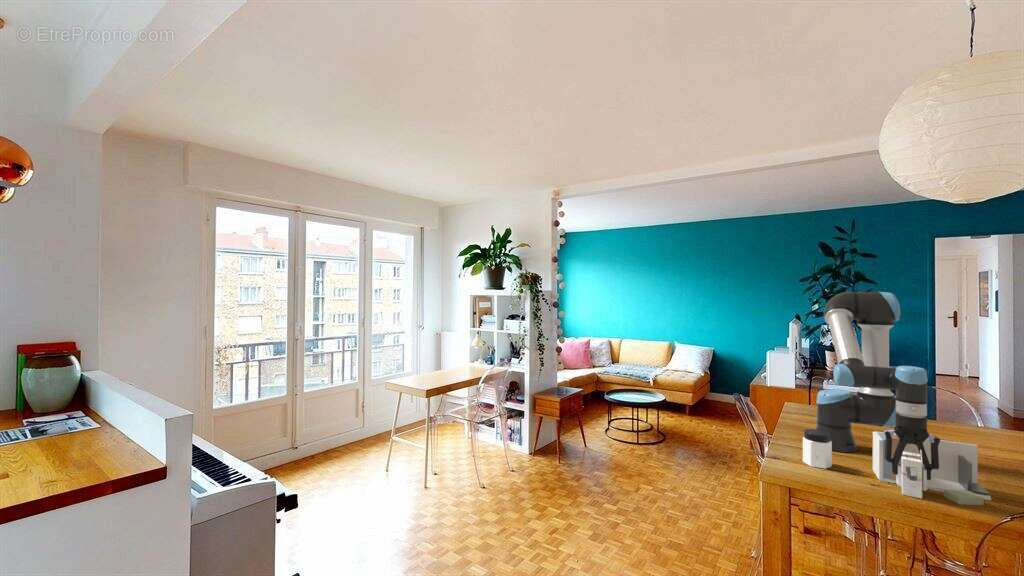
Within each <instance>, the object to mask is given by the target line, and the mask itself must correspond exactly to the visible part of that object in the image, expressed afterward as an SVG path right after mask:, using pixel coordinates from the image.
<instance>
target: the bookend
mask: <svg viewBox="0 0 1024 576" xmlns="http://www.w3.org/2000/svg"><path fill="white" fill-rule="evenodd" d="M958 482H959V483H960V484H961V485H962V486H963V487H964V488H965V489H966V490H967V491H970V492H974V493H980V494H985V495H989V496H991V493H990V492H989V491H988V490H986V489H985V488H984V487H983V486H982V485H981V484H980V483H978V484H977V483H972V463H970V462H969V461H968V460H967V459H966V458H965V457H963V456H961V455H958Z"/></svg>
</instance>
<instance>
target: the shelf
mask: <svg viewBox="0 0 1024 576" xmlns="http://www.w3.org/2000/svg"><path fill="white" fill-rule="evenodd" d="M899 439H900V438H899V437H898V436H897V435H896V434H894V437H892V453H891V458H893V455H894V453H895V450H896V448H897V445H898V441H899ZM885 440H886V436H885V434H884V431H882V432H881V431H874V430H873V431H872V471H873V473H874V475H875V474H876V475H875V476H876V477H877V480H878V479H879V480H878V481H879V482H883V481H884V482H883V483H888V482H890V483H889V484H894V483H896V474H894V473H893V472H892V463H891V462H888V461H887V460H886V459H885ZM930 444H931V442H930V441H929V438H927V439H926V440H925V441H924V442H923V446H924V449H925V452H926V455H927V458H928V460H929V463H930V464H931V445H930ZM978 447H979V446H978V445H977V444H973V443H966V442H958V441H950V440H944V439H940V443H939V445H938V455H939V469H932V471H931V479H930V480H927V490H928V489H929V490H930V491H935V492H939V493H944V490H966V489H965V488H964V487H963V486H962V485H961V484H960V483H959V482H958V455H961V456H963V457H965V458H966V459H967V460H968V461H969V462H970V463H972V483H977V484H979V482H978V481H979V480H978V464H979V463H978V460H979V459H978V456H979V455H978V454H979V453H978V452H979V451H978V449H979V448H978ZM904 452H910V453H915V454H919V450H918V448H917V445H914V444H907V445H906V447H905V448H904ZM899 464H900V465H901V458H900V461H899ZM922 467H924V464H923V462H922ZM895 485H897V483H896V484H895ZM966 491H967V490H966ZM972 493H974V492H972ZM974 494H976V495H978V496H980V497H982V498H984V501H985V500H986V501H992V496H991V495H985V494H980V493H974Z"/></svg>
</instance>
